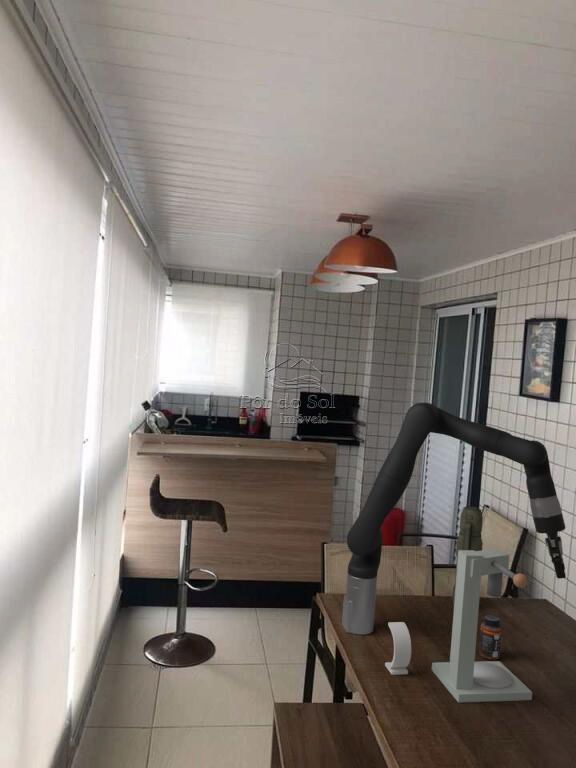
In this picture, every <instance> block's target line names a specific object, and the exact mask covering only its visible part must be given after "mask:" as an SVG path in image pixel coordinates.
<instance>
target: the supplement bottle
mask: <svg viewBox="0 0 576 768" xmlns="http://www.w3.org/2000/svg"><path fill="white" fill-rule="evenodd" d="M502 638H503V629H502V626H501V625H500V618H499V617H498V616H495V615H484V622H482V623H481V625H480V632H479V644H478V645H479V646H478V654H479V655H480V656H481V657H482V658H483V659H485V660H486V659H487V660H490V661H497V660H500V657H501V650H502Z"/></svg>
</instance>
